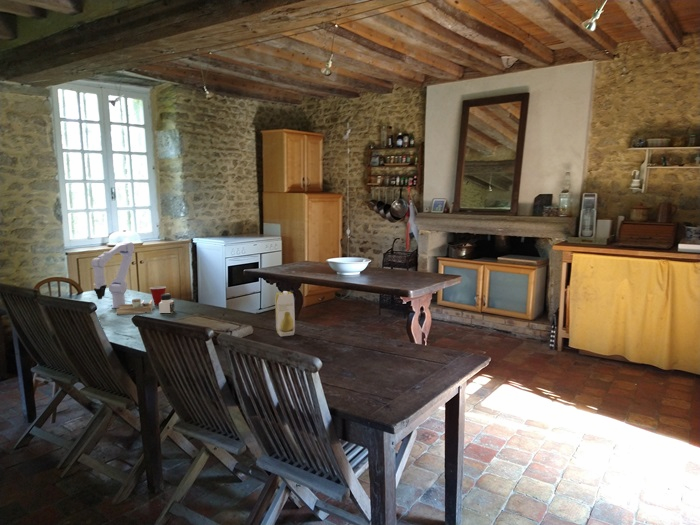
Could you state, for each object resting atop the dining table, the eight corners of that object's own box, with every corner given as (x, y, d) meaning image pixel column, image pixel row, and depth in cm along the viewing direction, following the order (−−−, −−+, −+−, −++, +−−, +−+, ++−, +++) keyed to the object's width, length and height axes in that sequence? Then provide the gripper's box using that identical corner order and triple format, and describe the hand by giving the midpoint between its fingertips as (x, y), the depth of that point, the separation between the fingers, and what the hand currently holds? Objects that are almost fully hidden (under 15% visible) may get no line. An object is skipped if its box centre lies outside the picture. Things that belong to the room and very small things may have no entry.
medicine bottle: (170, 314, 307) (169, 295, 305) (159, 314, 307) (158, 295, 305) (174, 311, 314) (173, 292, 312) (163, 311, 314) (162, 292, 313)
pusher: (142, 307, 320) (142, 300, 319) (144, 307, 320) (144, 300, 320) (141, 311, 311) (140, 303, 311) (143, 310, 312) (142, 303, 311)
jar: (132, 309, 316) (131, 299, 315) (141, 308, 318) (140, 298, 317) (133, 311, 312) (132, 300, 310) (141, 310, 314) (140, 300, 313)
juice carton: (279, 337, 258) (277, 293, 254) (275, 333, 265) (274, 290, 261) (296, 335, 262) (295, 291, 258) (291, 331, 269) (290, 288, 265)
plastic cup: (167, 301, 340) (166, 284, 338) (167, 305, 330) (166, 287, 328) (151, 302, 337) (149, 285, 335) (150, 306, 327) (148, 288, 325)
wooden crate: (120, 310, 318) (119, 301, 317) (152, 307, 323) (152, 299, 322) (116, 314, 306) (116, 306, 305) (151, 312, 312) (150, 303, 311)
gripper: (94, 275, 315) (96, 295, 317) (89, 279, 301) (91, 300, 303) (106, 274, 317) (108, 294, 319) (102, 278, 303) (104, 299, 305)
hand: (101, 297), depth 311 cm, fingers open, 7 cm apart
